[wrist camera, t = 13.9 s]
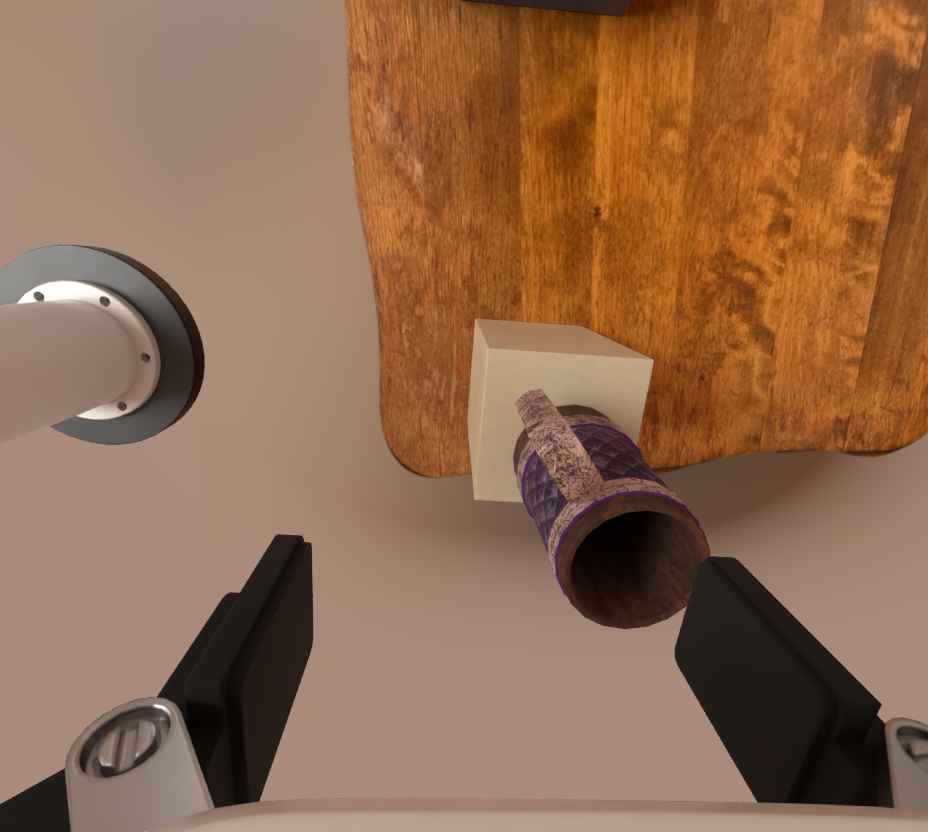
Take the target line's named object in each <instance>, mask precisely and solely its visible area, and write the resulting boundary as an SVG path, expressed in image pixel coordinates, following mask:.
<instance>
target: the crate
mask: <svg viewBox="0 0 928 832" xmlns="http://www.w3.org/2000/svg"><path fill="white" fill-rule="evenodd" d="M468 1H478V2H487V3H497V4H507V5H516V6H526V7H536V8H545V9H555V10H565V11H574V12H584V13H593V14H603V15H613V16H621V15H622V13H623V12H624V10H625V9H626V8H627V6H628V5H629V3H630V2H631V0H468Z"/></svg>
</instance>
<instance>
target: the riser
mask: <svg viewBox="0 0 928 832" xmlns="http://www.w3.org/2000/svg"><path fill="white" fill-rule="evenodd" d="M653 363H654V360H653V359H651V358H649V357H647V356H644V355H642V354H640V353H638V352H636V351H634V350H632V349H630V348H627V347H625V346H623V345H621V344H619V343H617V342H615V341H613V340H610V339H608V338H606V337H604V336H602V335H600V334H598V333H596V332H593V331H591V330H589V329H587V328H585V327H583V326H573V325H559V324H545V323H531V322H518V321H504V320H490V319H475V329H474V342H473V354H472V367H471V379H470V391H469V404H468V416H467V425H468V436H469V446H470V457H471V468H472V479H473V490H474V499H475V500H488V501H489V500H490V501H506V502H523V499H522V497H521V494H520V492H519V489H518V485H517V476H516V474H515V472H514V461H513V454H514V450H515V446H516V442H517V439H518V437H519V436H520V434H521V433H522V431H523V430H524V428H525V426H524V424H523V421H522V419H521V417H520V415H519V413H518V410H517V408H516V406H515V404H514V403H515V402H516V401H517V400H518V399H519V398H520V397H521V396H522V395H523V394H524V393H525V392H527V391H531V390H535V389H540V388H541V389H542V390H543V391H544V393H545V394H546V395H547V397H548V398H549V400H550V401H551V402H552V404H553V405H554V406H555V407H557V406H565V405H574V404H575V405H580V406H585V407H591V408H593V409H595V410H597V411H598V412H600V413H602V414H604V415H605V416H607V417H608V419H609V420H610V421H611V422H612V423H614V424H616V425H617V426H619V427H620V428H621V429H622V430H623V431H624V432H625V433H626V434H627V436H628V437H629V438H630V439H631V440H632V441H633V443H634V444H635V445H636V446H637V442H638V437H639V432H640V427H641V422H642V417H643V412H644V408H645V403H646V398H647V393H648V388H649V383H650V378H651V373H652V368H653Z"/></svg>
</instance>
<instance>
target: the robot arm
mask: <svg viewBox="0 0 928 832" xmlns="http://www.w3.org/2000/svg"><path fill="white" fill-rule="evenodd" d="M149 356H150V357H149ZM160 369H161V362H160V352H159V349H158V345H157V341H156V339H155V337H154V335H153V333H152V330H151V328H150V327H149V325H148V324H147V322H146V321H145V319H144V318H143V317H142V315H141V314H140V313H139V312H138V311H137V310H136V309H135V308H134V307H133V306H132V305H131V304H130V303H129V302H127V301H126V300H125V299H123V298H122V297H121V296H120V295H118V294H116V293H114V292H112V291H111V290H109V289H107V288H105V287H102V286H99V285H96V284H94V283H90V282H84V281H78V280H62V281H54V282H48V283H45V284H42V285H39V286H36V287H35V288H33V289H32V290H30V291H29V292H27V293H26V294H25V295H24V296H23V297H22V298H21V299H20V300H19V301H18V302H17V304H6V305H0V446H2V445H4V444H6V443H9V442H12V441H14V440H17V439H19V438H22V437H24V436H27V435H29V434H32V433H34V432H37V431H39V430H42V429H44V428H46V427H49V426H52V425H54V424H57V423H59V422H62V421H64V420H67V419H69V418H72V417H74V416H78V417H81V418H87V419H93V420H104V419H112V418H117V417H121V416H123V415H125V414H128V413H130V412H132V411H134V410H136V409H137V408H139V407H141V406H142V405H143V404H144V403H145V402H146V401H147V400H148V399H149V398H150V397H151V395H152V394H153V392H154V390H155V389H156V386H157V383H158V380H159V377H160ZM312 590H313V589H312V545H311V543H310V542H304V539H303V536H299V535H280V534H278V535H276V536H275V537H274V539H273V541H272V542H271V544H270V545H269V547H268V548H267V550H266V552H265V553H264V555H263V556H262V558H261V560H260V561H259V563H258V564H257V566H256V568H255V569H254V571H253V572H252V574H251V576H250V577H249V579H248V581H247V582H246V584H245V585H244V587H243V589H242V590H241V592H240V593H233V592H230V593H228V594H226V595H225V596H224V597H223V599H222V600H221V601H220V603H219V605H218V606H217V607H216V609H215V610H214V612H213V613H212V615H211V616H210V618H209V620H208V621H207V622H206V624H205V626H204V627H203V628H202V630H201V631H200V633H199V635H198V636H197V637H196V639H195V641H194V642H193V643H192V645H191V647H190V648H189V649H188V651H187V652H186V654H185V656H184V657H183V659H182V660H181V661H180V663H179V664H178V666H177V668H176V669H175V671H174V672H173V673H172V675H171V676H170V678H169V679H168V681H167V682H166V684H165V685H164V687H163V688H162V690H161V692H160V693H159V695H158V696H157V697H148V698H141V699H135V700H133V701H130V702H127V703H124V704H121V705H119V706H117V707H115V708H113V709H112V710H110V711H108V712H106V713H105V714H103V715H101V716H100V717H99V718H98V719H97V720H95V721H94V722H93V723H92V724H90V725H89V726H88V727H87V728H86V729H85V730H84V731H83V732H82V733H81V735H80V736H79V737H78V738H77V739H76V740H75V741H74V743H73V745H72V747H71V749H70V751H69V753H68V755H67V759H66V765H65V769H63V770H61V771H59V772H57V773H56V774H54V775H52V776H50V777H48V778H47V779H45V780H43V781H41V782H39V783H38V784H36V785H34V786H32V787H30V788H29V789H27V790H25V791H23V792H22V793H20V794H18V795H16V796H14V797H12V798H11V799H9V800H7V801H5V802H3V803H2V804H0V832H928V725H927V724H924V723H922V722H919V721H916V720H911V719H907V718H893V719H891V720H889V721H888V722H887V723H886V724H885V723H884V722H883V721H882V720H881V719H880V718H879V717H878V716H877V713H878V711H879V709H880V707H881V703H880V702H879V701H878V700H877V699H876V698H875V697H874V696H873V695H872V694H871V693H870V692H869V691H868V690H867V689H866V688H865V687H864V686H863V685H862V684H861V683H860V682H859V681H858V680H857V679H856V678H855V677H854V676H853V675H852V674H851V673H850V672H849V671H848V670H847V669H846V668H845V667H844V666H843V665H842V664H841V663H840V662H839V661H838V660H837V659H836V658H835V657H834V656H833V655H832V654H831V653H830V652H829V651H828V650H827V649H826V648H825V647H824V646H823V645H822V644H821V643H820V642H819V641H818V640H817V639H816V638H815V637H814V636H813V635H812V634H811V633H810V632H809V631H808V630H807V629H806V628H805V627H804V626H803V625H802V624H801V623H800V622H799V621H798V620H797V619H796V618H795V617H794V616H793V615H792V614H791V613H790V612H789V611H788V610H787V609H786V608H785V607H784V606H783V605H782V604H781V603H780V602H779V601H778V600H777V599H776V598H775V597H774V596H773V595H772V594H771V593H770V592H769V591H768V590H767V589H766V588H765V587H764V586H763V585H762V584H761V583H760V582H759V581H758V580H757V579H756V578H755V577H754V576H753V575H752V574H751V573H750V572H749V571H748V570H747V569H746V568H745V567H744V566H743V565H742V564H741V563H740V562H739V561H738V560H737V559H735V558H732V557H714V556H711V557H708V558H707V559H706V560H705V562H702V563H700V564H699V566H698V569H697V573H696V576H695V580H694V583H693V587H692V590H691V594H690V597H689V601H688V604H687V608H686V611H685V615H684V618H683V622H682V625H681V629H680V632H679V636H678V639H677V643H676V646H675V659H676V663H677V665H678V667H679V668H680V670H681V672H682V674H683V676H684V677H685V679H686V681H687V682H688V684H689V686H690V688H691V689H692V691H693V693H694V694H695V696H696V698H697V699H698V701H699V703H700V705H701V706H702V708H703V710H704V712H705V713H706V715H707V717H708V718H709V720H710V722H711V723H712V725H713V727H714V728H715V730H716V732H717V734H718V736H719V737H720V739H721V741H722V742H723V744H724V746H725V748H726V749H727V751H728V753H729V754H730V756H731V758H732V760H733V761H734V763H735V765H736V766H737V768H738V770H739V771H740V773H741V775H742V777H743V778H744V780H745V782H746V783H747V785H748V787H749V789H750V790H751V792H752V794H753V795H754V797H755V799H756V800H757V802H758V803H745V802H743V803H742V802H697V801H694V802H693V801H639V800H638V801H636V800H569V799H567V800H565V799H473V798H472V799H470V798H463V799H462V798H341V799H340V798H336V799H295V800H279V801H263V802H259V801H260V798H261V795H262V792H263V789H264V786H265V783H266V780H267V777H268V775H269V771H270V768H271V766H272V763H273V760H274V757H275V754H276V751H277V748H278V746H279V742H280V740H281V736H282V734H283V731H284V728H285V725H286V722H287V719H288V716H289V714H290V711H291V708H292V705H293V702H294V699H295V696H296V693H297V690H298V687H299V685H300V682H301V679H302V676H303V673H304V670H305V667H306V664H307V661H308V658H309V656H310V652H311V648H312V643H313V592H312Z"/></svg>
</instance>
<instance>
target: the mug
mask: <svg viewBox="0 0 928 832" xmlns="http://www.w3.org/2000/svg"><path fill="white" fill-rule="evenodd" d="M514 404H515V406H516V408H517V410H518V413H519V415H520V417H521V419H522V421H523V424H524V426H525V428H524V430H523V431H522V433H521V434H520V436H519V437H518V439H517V442H516V446H515V450H514V454H513V461H514V472H515V474H516V476H517V485H518V489H519V492H520V494H521V497H522V499H523V502H524V504H525V506H526V508H527V510H528V512H529V514H530V516H531V517H532V518H533V519H534V520H535V523H536V525H537V528H538V530H539V532H540V535H541V537H542V540H543V542H544V545H545V547H546V550H547V552H548V554H549V562H550V564H551V566H552V569H553V571H554V573H555V576H556V578H557V580H558V582H559V584H560V586H561V589H562V591H563V593H564V594H565V595H566V596H567V597H568V598H569V600H570V603H571V604H572V605H573V606H574V607H575V608H576V609H577V610H578V611H579V612H580V613H581V614H582V615H583V616H584V617H585V618H588V619H590V620H592V621H594V622H596V623H598V624H600V625H602V626H608V627H615V628H621V629H629V628H639V627H647V626H650V625H652V624H655V623H658V622H660V621H663V620H666V619H668V618H670V617H671V616H673V615H674V614H676V613H677V612H678V611H680V610H682V609H683V608H684V607H686V606H687V604H688V601H689V597H690V594H691V590H692V587H693V583H694V580H695V576H696V573H697V569H698V566H699V564H700V563H702V562H705V560H706V559H707V558H708V557H710V549H709V546H708V543H707V540H706V537H705V534H704V532H703V530H702V529H701V528H700V525H699V522H698V520H697V519H696V518H695V516H694V515H693V514H692V513H691V512H690V510H688V508H687V507H686V506H685V505H684V503H683V502H682V501H681V500H680V499H679V497H678V496H677V495H676V494H675V493H674V492H673V491H672V490H670V489H668V487H667V486H666V485H665V484H664V483H663V482H662V480H661V479H660V478H659V477H658V476H657V475H656V473H655V472H654V471H653V470H652V469H651V468H650V466H649V465H648V464H647V463H646V462H645V461H644V459H643V457H642V454H641V451H640V450H639V448H638V447H637V446H636V445H635V444H634V443H633V441H632V440H631V439H630V438H629V437H628V436H627V434H626V433H625V432H624V431H623V430H622V429H621V428H620V427H619V426H617V425H616V424H614V423H612V422H611V421H610V420H609V419H608V417H607V416H605V415H604V414H602V413H600V412H598V411H597V410H595V409H593V408H591V407H585V406H580V405H575V404H574V405H565V406H557V407H555V406H554V405H553V404H552V402H551V401H550V400H549V398H548V397H547V395H546V394H545V393H544V391H543V390H542V389H541V388H540V389H535V390H531V391H527V392H525V393H524V394H523V395H522V396H521V397H520V398H519V399H518V400H517V401H516V402H515V403H514Z"/></svg>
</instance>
